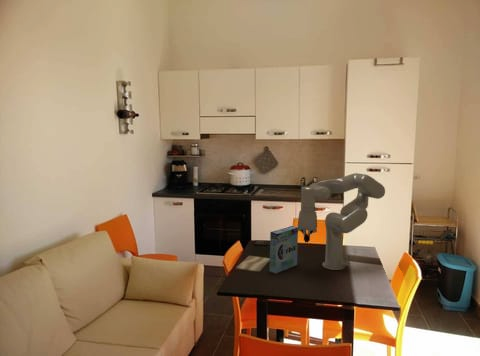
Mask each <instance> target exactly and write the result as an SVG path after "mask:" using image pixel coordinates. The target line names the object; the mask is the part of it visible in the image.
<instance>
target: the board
mask: <svg viewBox="0 0 480 356" xmlns="http://www.w3.org/2000/svg"><path fill="white" fill-rule="evenodd" d="M268 263H270V257H262V256H255V255H248V256H247V257H246V258H245V259H244V260H242V262H241V263H239V264H238V265H237V266H236V267H235V269H236V270H244V271H249V272H255V273H256V272H257V273H260V272H261V271H262V270H263V269H264V268H265V266H267V264H268Z"/></svg>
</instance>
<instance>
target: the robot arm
mask: <svg viewBox="0 0 480 356" xmlns="http://www.w3.org/2000/svg"><path fill="white" fill-rule="evenodd" d="M355 189H357V195H356V197H355V198H354V199H353V200H351V201H349V202H348V203H346V204H345V205H343V206H342V207H341V209H340V213H338V212H335V211H334V212H330V213H327V215H326V216H325V218H324V225H325V233H326V234H325V235H326V236H325V257H324V259H325V261H323V262H322V264H321V265H322V267H323V268H324V269H327V270H331V271H341V270H344V269H345V268H346V267H351V262H349V261H347V260H346V261H345V260H344V258H343V253H344V252H343V251H344V250H343V247H344V246H343V245H344V234H349V233H352V232H353V231H355V230H356V229H357V228H359V227H360V226H361V225H363V224H364V223H365V222H366V220H367V218H368V210H367V208H369V199H370V198H372V199H376V200H377V199H378V200H379V199H380V200H381V198H383V197H384V196H385V194H386V188H385V186H384V185H383V184H382V183H380V182H378V180H376V179H375V178H373V177H372V176H370V175H369V174H364V173H357V172H355V173H351V174H348V175H345V176H342V177H338V178H334V179H333V178H332V179H328V180H320V181H318V182H315V183H312V184H310V185H309V186H302V187H301V190H300V191H301V193H300V196H301V197H300V210H299V212H298V219H297V227H298V229H297V230H298V232H301V233H302V234H303V241H304V243H309V242H310V241H311V235H312V234H316V233H318V230H317V228H318V215H317V212H316V211H318V208H317V207H316V201H326V200H328V198H330V196H331V194H344V193H346V192H349V191H353V190H355Z"/></svg>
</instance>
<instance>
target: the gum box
mask: <svg viewBox="0 0 480 356" xmlns="http://www.w3.org/2000/svg"><path fill="white" fill-rule="evenodd" d="M297 229H298V226H294V225H290V226H287V227H285V228H280V229H276V230H273V231H270V234H269V235H270V237H269V239H270V241H269V243H270V244H269V249H270V250H269V258H270V261H269V272H270V273H273V274H278V273H281V272H284V271H285V270H288V269H290V268H294V267H296V266H297V265H298V248H299V247H298V245H299V244H298V243H299V240H298V239H299V231H298V230H297Z"/></svg>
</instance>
